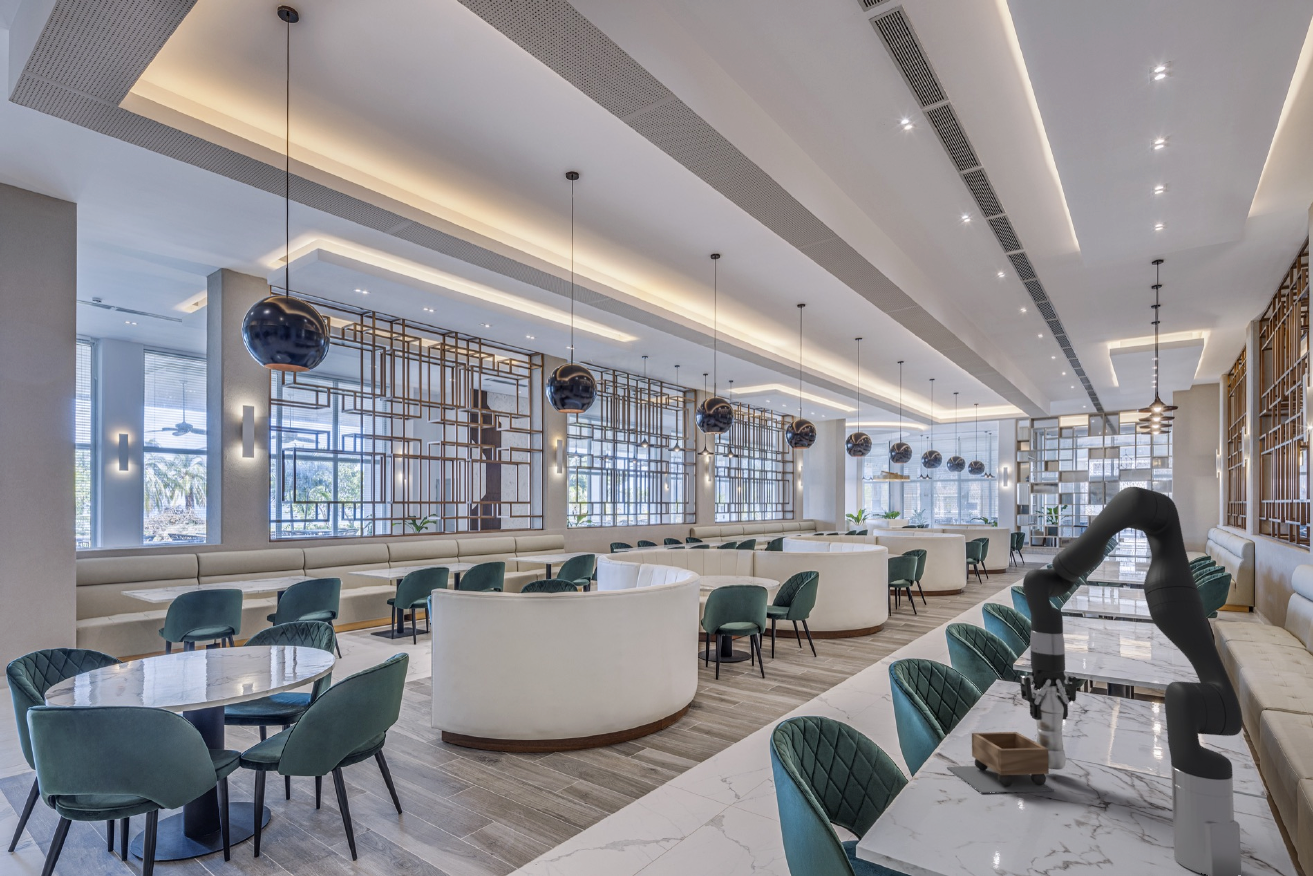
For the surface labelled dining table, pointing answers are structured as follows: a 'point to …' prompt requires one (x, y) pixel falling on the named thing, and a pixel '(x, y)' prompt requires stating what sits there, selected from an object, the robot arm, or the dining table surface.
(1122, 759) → the dining table surface
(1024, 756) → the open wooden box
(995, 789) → the gray mat
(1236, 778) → the dining table surface
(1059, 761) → the plastic bottle
